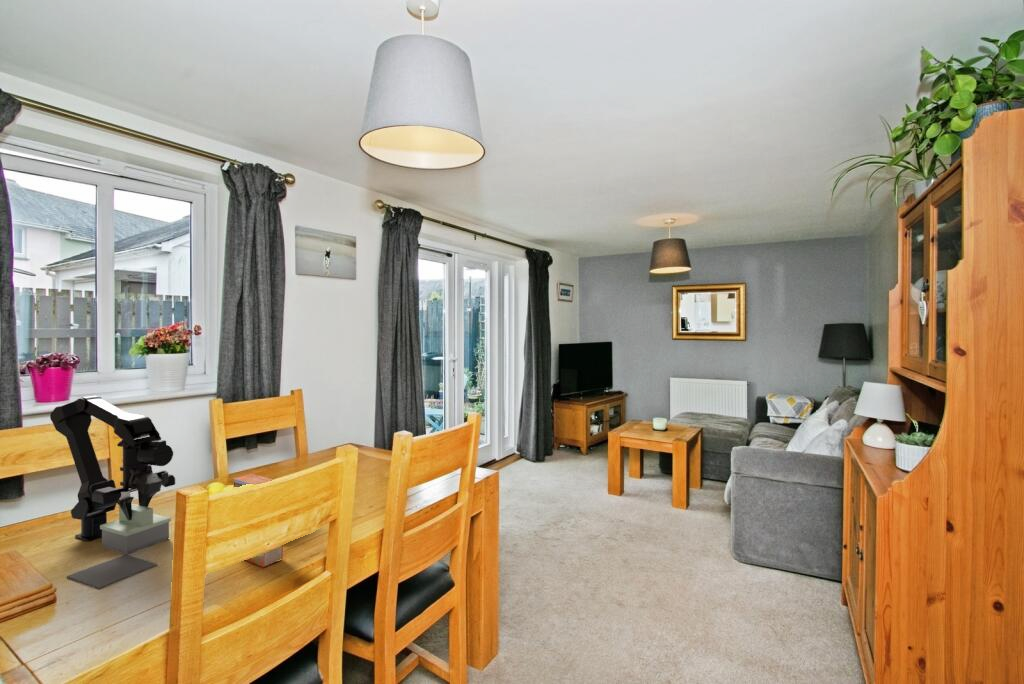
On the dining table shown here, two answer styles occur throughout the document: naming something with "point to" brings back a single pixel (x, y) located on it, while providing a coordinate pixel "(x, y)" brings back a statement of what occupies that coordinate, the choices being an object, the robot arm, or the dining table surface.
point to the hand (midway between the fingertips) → (136, 517)
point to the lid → (135, 521)
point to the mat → (111, 571)
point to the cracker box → (272, 554)
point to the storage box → (135, 539)
